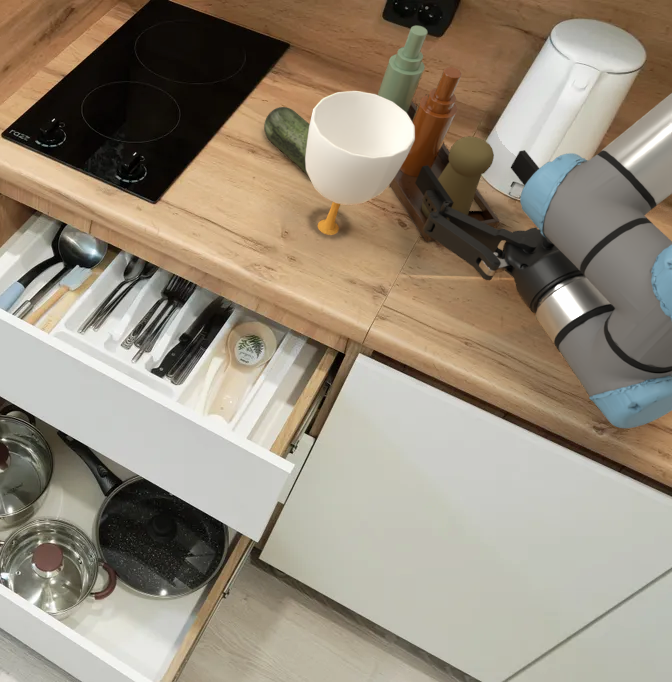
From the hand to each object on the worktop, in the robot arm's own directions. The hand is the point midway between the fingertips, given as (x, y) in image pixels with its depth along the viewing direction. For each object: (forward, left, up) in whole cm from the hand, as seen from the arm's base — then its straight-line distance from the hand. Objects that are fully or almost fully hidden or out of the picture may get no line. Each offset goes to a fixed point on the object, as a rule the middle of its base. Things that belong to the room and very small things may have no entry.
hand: (470, 166), depth 99 cm
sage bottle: (+5, -18, -8) cm, 20 cm away
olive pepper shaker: (0, 0, -8) cm, 8 cm away
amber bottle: (+3, -9, -8) cm, 12 cm away
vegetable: (+18, -11, -9) cm, 23 cm away
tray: (+3, -9, -9) cm, 13 cm away
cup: (+16, +3, -9) cm, 19 cm away
